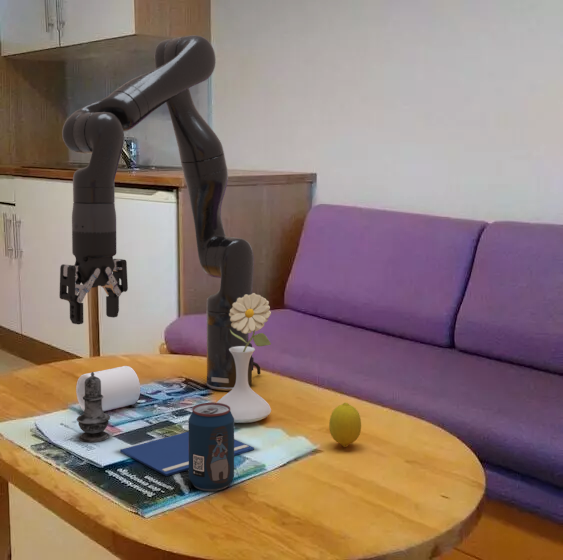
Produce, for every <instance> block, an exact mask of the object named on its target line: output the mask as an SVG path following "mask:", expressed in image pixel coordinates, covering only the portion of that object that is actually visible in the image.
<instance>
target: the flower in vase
mask: <svg viewBox="0 0 563 560" xmlns="http://www.w3.org/2000/svg"><path fill="white" fill-rule="evenodd" d="M269 304H270V301H269V300H267V299H266V298H265V297H263V296H261V294H256V293H255V292H252V294H251V295H249V296H248V295H247V294H246V295H244V297H242V298H238V299H237V301H236V303H233V307H232V309H230V313H229V316H230V317H231V318H230V321H232V323H231V326H232V327H233V328H234V329H236V330H237V331H240V330H241V332H242V333H244V334H247V333H248V334H251V333H252V335H251V337H250V338H249V339H248V343H247V342H246V341H245V340H244V339H243V338H242V337H240V336H238V335H236V334H234V333H233V332H232V331H231V330H230V331H231V333H232V334H233V335H234V336H235V337H237V338H239V339H241V340H242V341H244V342H246V343H247V344H246V346H236V347H231V348H230V349H229V351H230V352H231V353H232V355H233V357H234V360H235V365H236V383H235V386H234V388H233V389H232V390H231V391H228V392H227V393H225V394H224V395H223V396H222V397H221V398H220V399H218V400H217V401H216V403H222V404H226V405H228V406H229V407H230V412H231V413H232V415H233V417H234V424H236V423H238V424H248V423H254V422H258V421H261V420H263V419H266V418H268V417H269V415H270V414H271V412H272V408H271V405H270V404H269V403H268V402H267V401H266V400H265V398H263V397H262V396H261V395H259V394H258V393H257V392H255V391H254V390H253V389H252V388H251V385H250V386H249V384H248V366H249V361H250V358H251V355H252V356H253V354H254V352H255V351H256V348H255V347H253V346H252V347H248V344H249V343H251V342H252V340H253V342H254V344H255V346H256V347H266V346H271V345H272V343H271V342H270V339H269V338H268V336H267V335H266V334H265V333H263V332H259V333H256V332H258V331H259V330H262V329H263V327H265V323H267V322H268V321H269V318H270V317H271V315H272V311H271V310H270V309H271V306H270V305H269ZM255 333H256V334H255Z"/></svg>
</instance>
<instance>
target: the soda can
mask: <svg viewBox="0 0 563 560" xmlns="http://www.w3.org/2000/svg"><path fill="white" fill-rule="evenodd" d="M191 411H192V412H191V413H190V416H189V417H188V432H189V470H188V479H189V480H190V482H191V484H192V486H193V487H194V488H196V489H197V490H200V491H205V492H215V491H221V490H224V489H226V488H228V487H229V486H230V484H231V483H232V481H233V479H234V478H235V456H234V439H235V423H234V417H233V415H232V413H231V412H230V407H229V406H228V405H226V404H222V403H217V402H204V403H199V404H196V405H194V406H193V407H192V410H191Z"/></svg>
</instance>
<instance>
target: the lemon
mask: <svg viewBox="0 0 563 560" xmlns="http://www.w3.org/2000/svg"><path fill="white" fill-rule="evenodd" d="M328 428H329V434H330V436H331V438H332V439H333V440H334V441H335V442H336V443H338V444H340V445H341V447H343V448H347V447H348V446H349V445H351V444H353V443H355V442H356V441H357V440H358V438H359V437H360V435H361V431H362V419H361V415H360V412H359V411H358V410H357V409H356V407H354V406H353V405H351V404H350V403H348V402H343V403H342V404H339V405H338V406H336V407H335V408H334V409H333V410H332V412H331V415H330V417H329V425H328Z"/></svg>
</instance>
